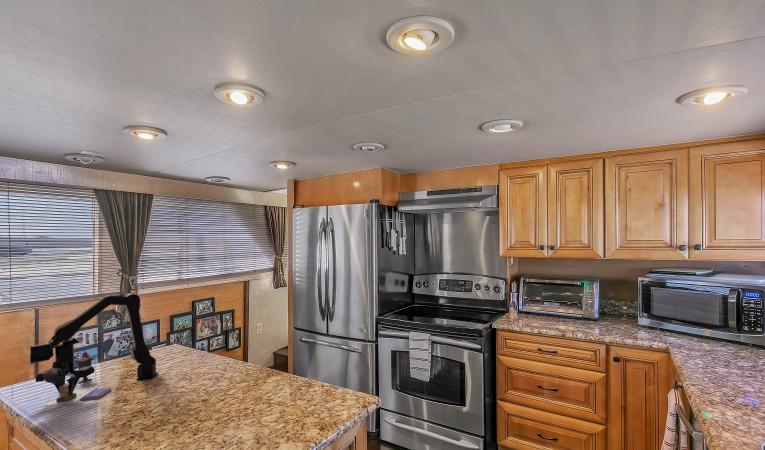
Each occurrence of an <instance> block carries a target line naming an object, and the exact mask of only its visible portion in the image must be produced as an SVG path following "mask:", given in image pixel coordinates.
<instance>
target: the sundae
mask: <svg viewBox="0 0 765 450" xmlns="http://www.w3.org/2000/svg"><path fill="white" fill-rule="evenodd" d="M93 359H95V358H94V356H92V355H91V354H90V353H88V352H87V351H86V349H84V350H83V352H82V354H81V355H80V356H79V358H77V359H75V360H74V363H75V364H76V365H77V370H78V369H80V368H82V367H87V366H92V361H93ZM92 380H93V378H88V376H87V377H84V378H82V380H79V381H78V383H77V384H87V383H89V382H91V381H92Z"/></svg>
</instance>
